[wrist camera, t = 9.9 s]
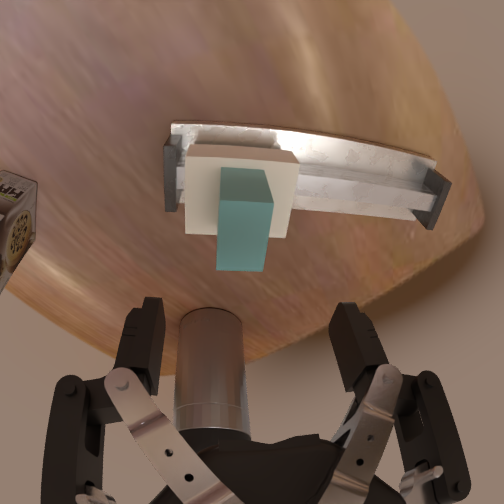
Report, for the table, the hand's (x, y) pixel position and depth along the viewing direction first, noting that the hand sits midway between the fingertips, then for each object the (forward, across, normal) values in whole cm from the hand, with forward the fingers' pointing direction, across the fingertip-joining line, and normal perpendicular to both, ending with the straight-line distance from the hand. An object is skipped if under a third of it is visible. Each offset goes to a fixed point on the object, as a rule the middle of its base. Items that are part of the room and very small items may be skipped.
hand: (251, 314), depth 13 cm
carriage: (+17, 0, 0) cm, 17 cm away
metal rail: (+19, -8, 0) cm, 20 cm away
